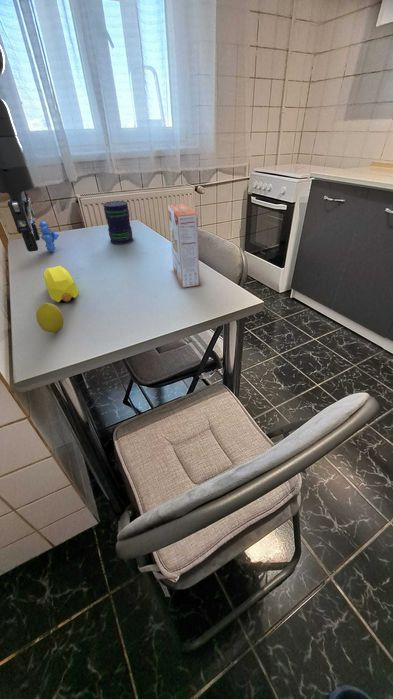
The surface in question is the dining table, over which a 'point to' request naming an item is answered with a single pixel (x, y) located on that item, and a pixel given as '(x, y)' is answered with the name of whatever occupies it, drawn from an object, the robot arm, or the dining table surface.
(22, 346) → the dining table surface
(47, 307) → the lemon
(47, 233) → the grapes
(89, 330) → the dining table surface
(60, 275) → the yellow faceted capsule
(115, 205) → the storage jar
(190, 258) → the cracker box
